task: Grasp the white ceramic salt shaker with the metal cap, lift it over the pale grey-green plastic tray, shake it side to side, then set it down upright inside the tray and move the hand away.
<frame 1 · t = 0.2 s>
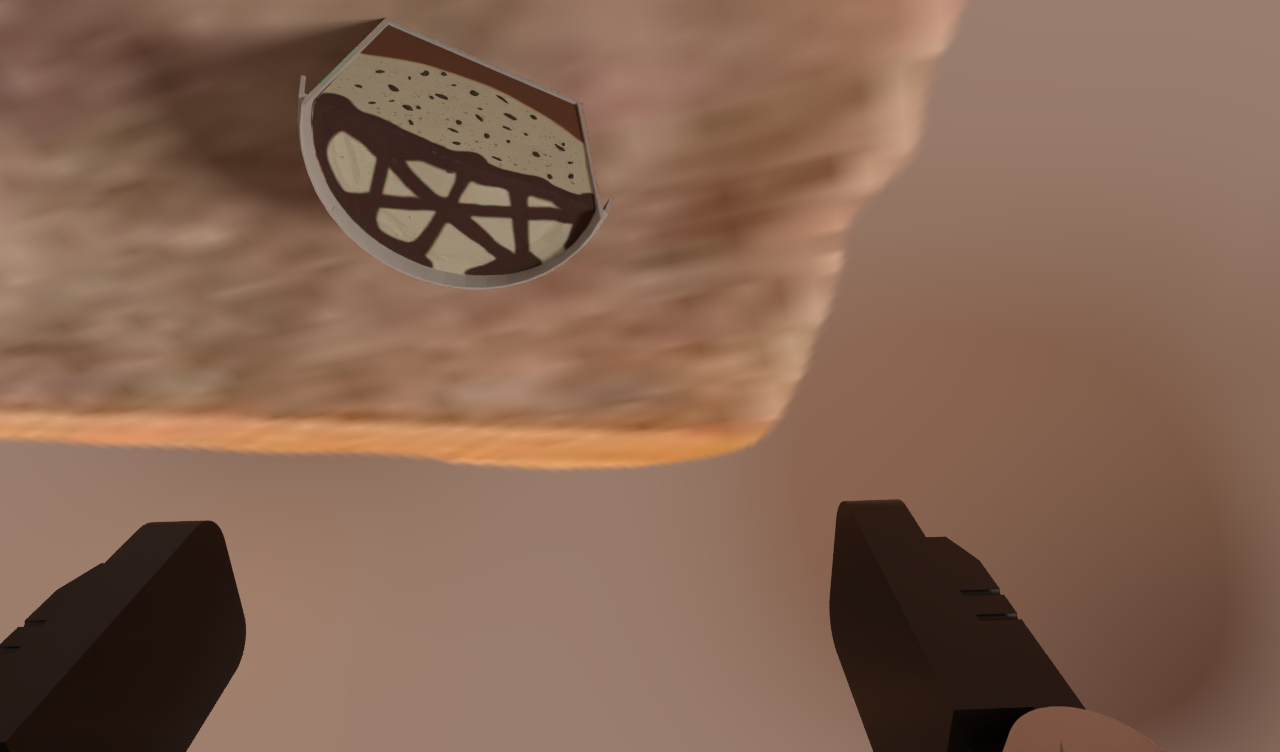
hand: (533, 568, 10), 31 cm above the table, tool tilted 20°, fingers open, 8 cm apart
food container: (467, 118, 38), on the table
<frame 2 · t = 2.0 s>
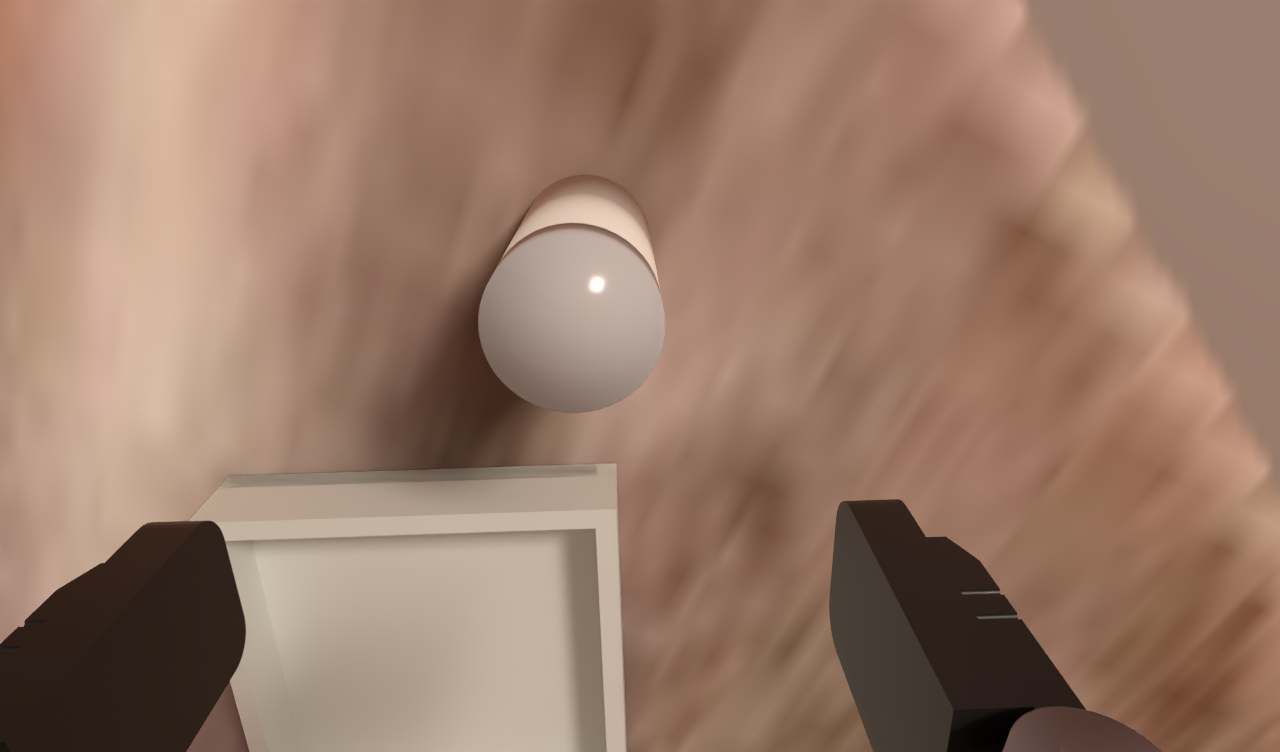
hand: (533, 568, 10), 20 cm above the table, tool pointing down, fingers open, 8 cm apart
salt shaker: (586, 239, 29), on the table
tray: (448, 643, 35), on the table
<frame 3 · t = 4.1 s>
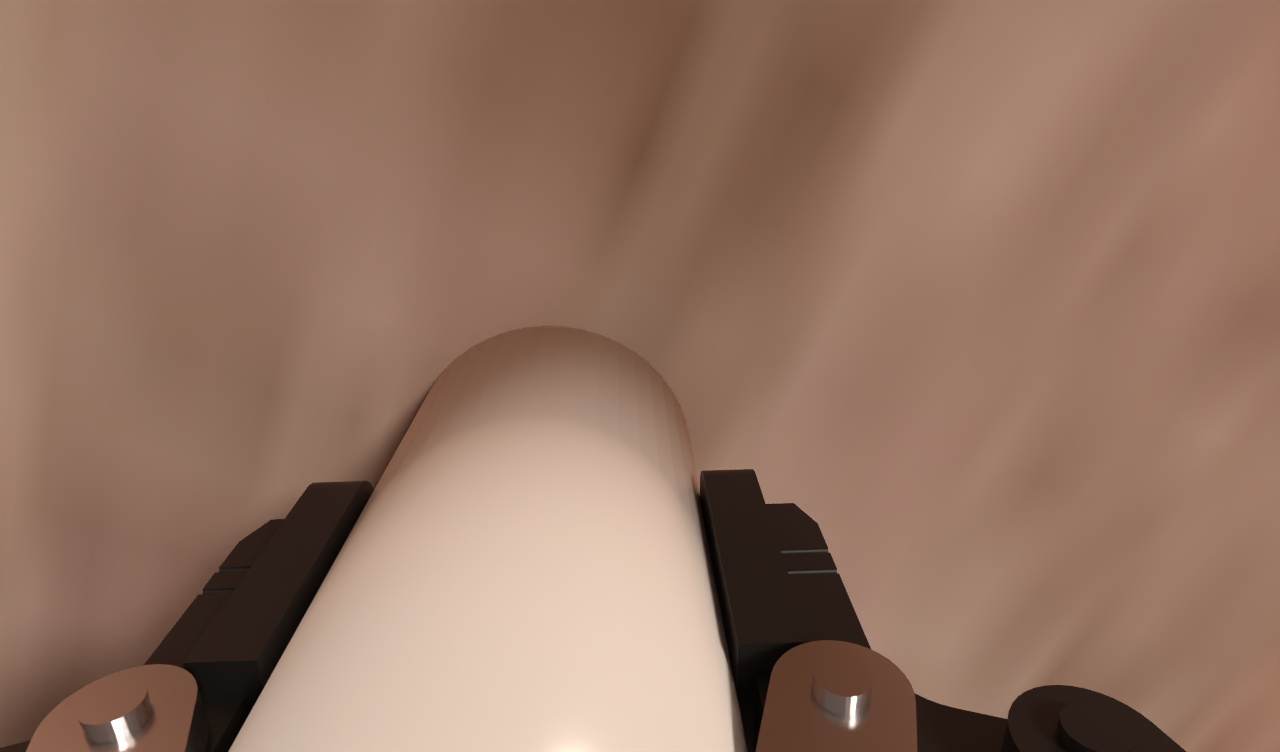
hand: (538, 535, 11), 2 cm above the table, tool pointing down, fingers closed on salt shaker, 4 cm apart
salt shaker: (553, 456, 13), on the table, touching gripper
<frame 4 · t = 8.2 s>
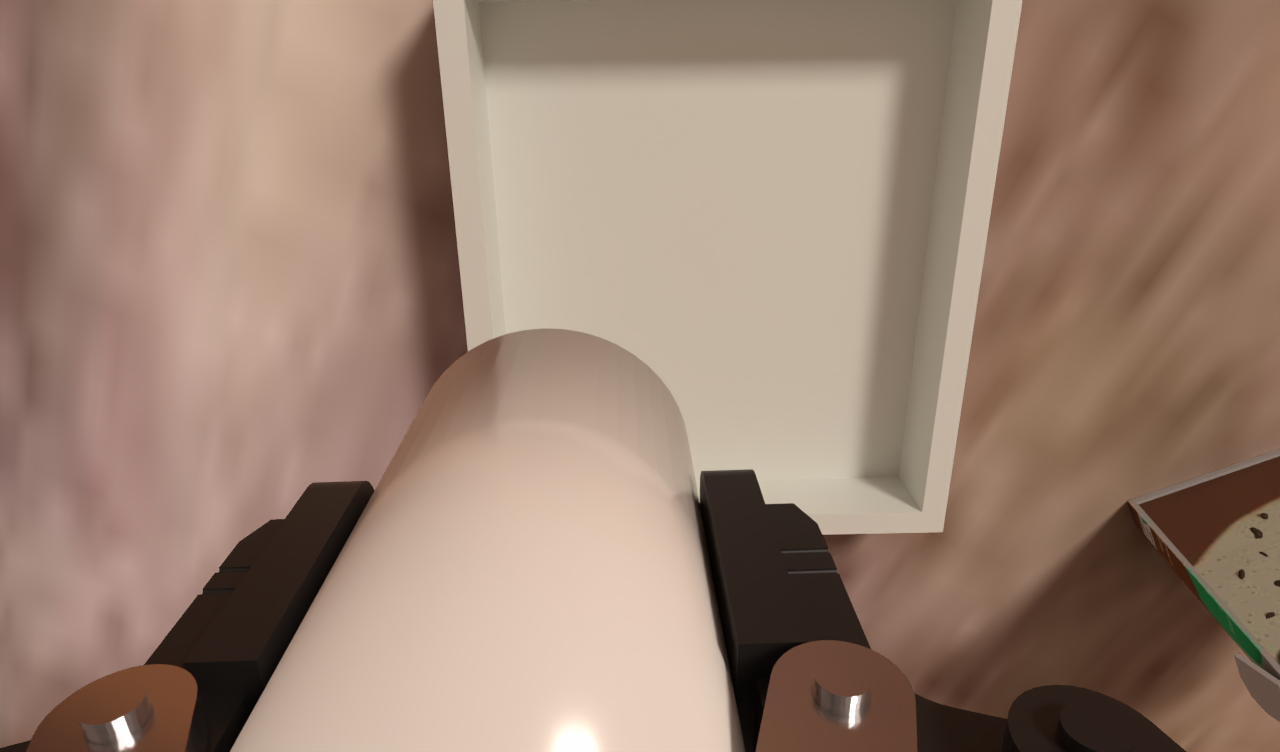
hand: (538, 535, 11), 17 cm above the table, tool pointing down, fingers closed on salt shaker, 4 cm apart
food container: (1254, 519, 32), on the table
salt shaker: (552, 457, 13), point 15 cm above the table, touching gripper
tray: (710, 259, 27), on the table
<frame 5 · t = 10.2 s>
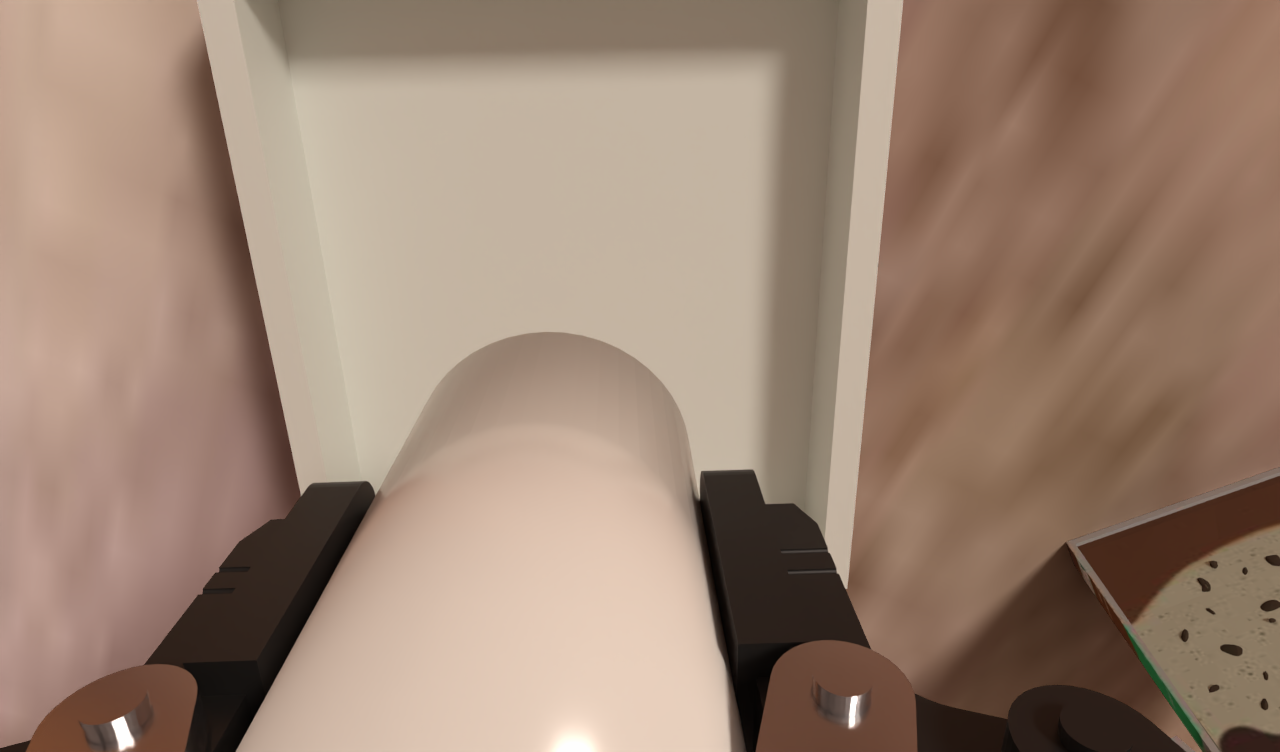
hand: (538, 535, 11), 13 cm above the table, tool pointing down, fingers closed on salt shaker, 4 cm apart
food container: (1208, 560, 28), on the table
salt shaker: (553, 461, 13), point 11 cm above the table, touching gripper
tray: (577, 280, 24), on the table
when the fingers open (5 cm above the table, at t = 12.1 s): salt shaker drops 1 cm, resting on tray.
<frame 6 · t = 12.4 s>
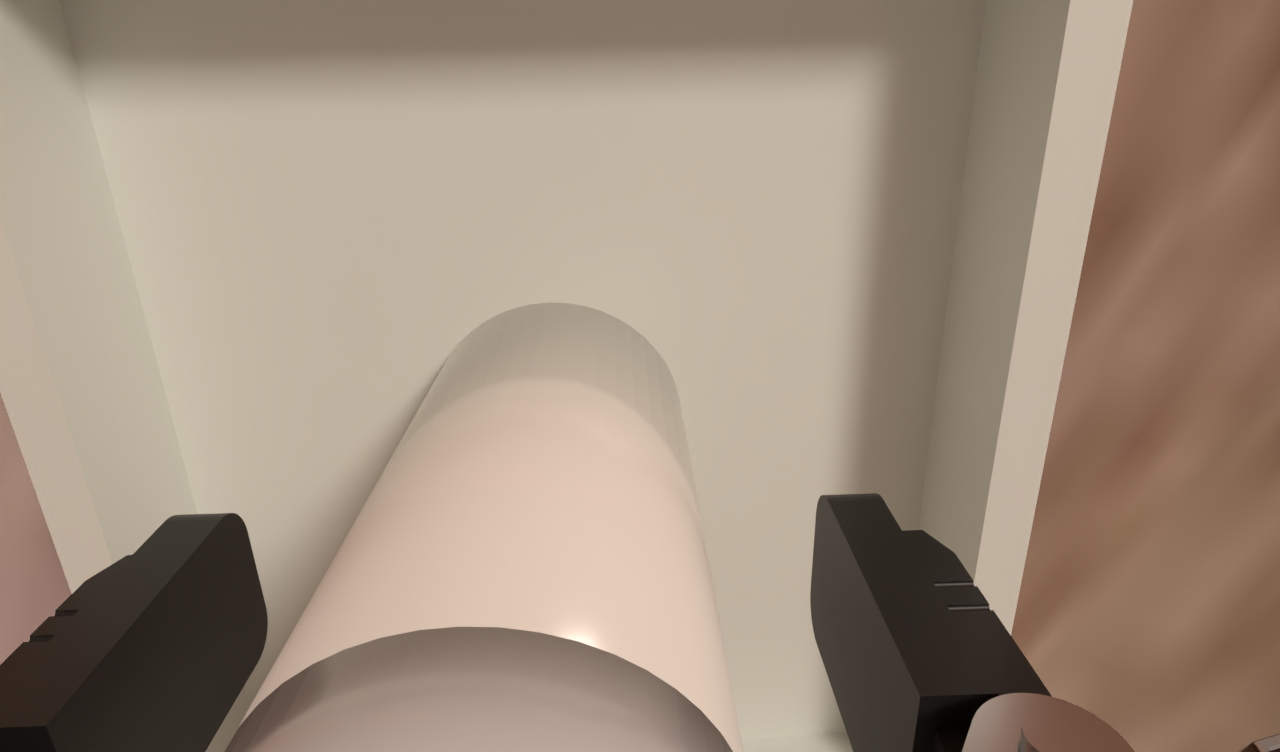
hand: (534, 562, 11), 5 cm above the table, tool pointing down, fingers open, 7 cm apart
salt shaker: (557, 422, 15), point 1 cm above the table, touching tray
tray: (561, 397, 16), on the table
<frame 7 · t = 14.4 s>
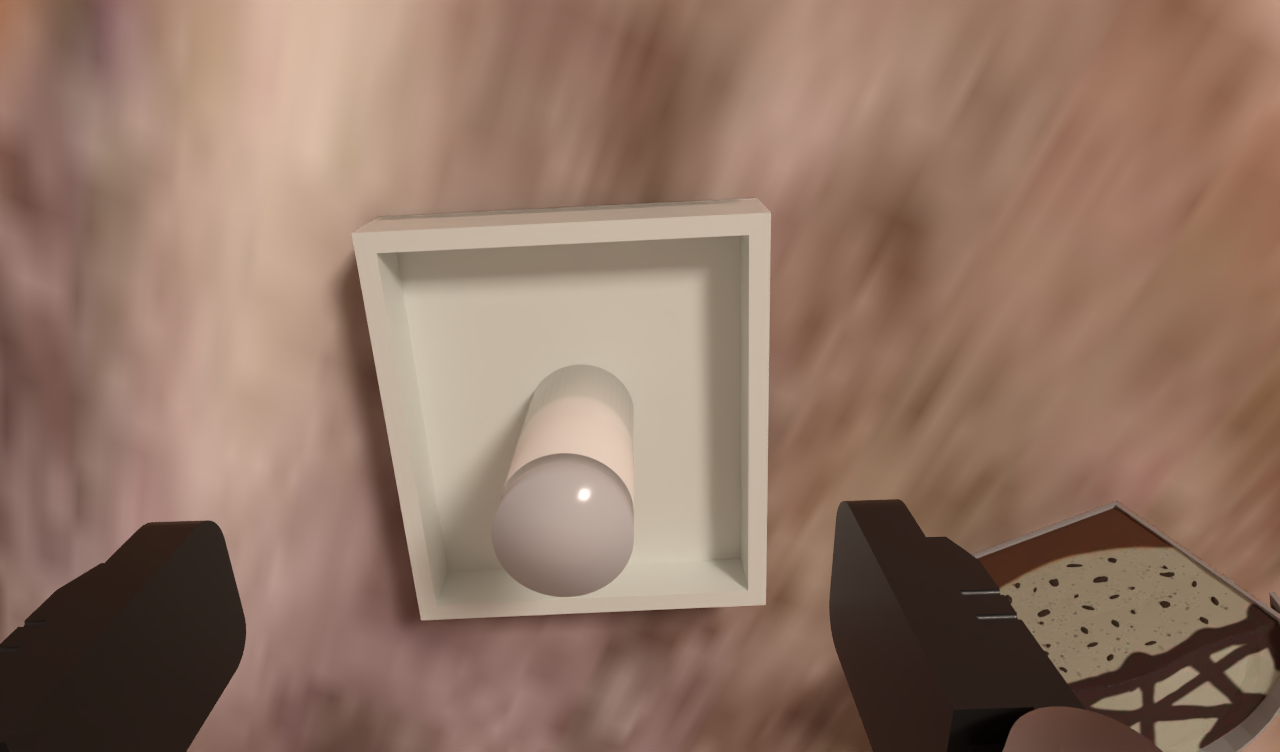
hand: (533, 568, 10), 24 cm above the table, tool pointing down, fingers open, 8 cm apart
food container: (1035, 581, 40), on the table
salt shaker: (581, 413, 35), point 1 cm above the table, touching tray
tray: (583, 403, 36), on the table
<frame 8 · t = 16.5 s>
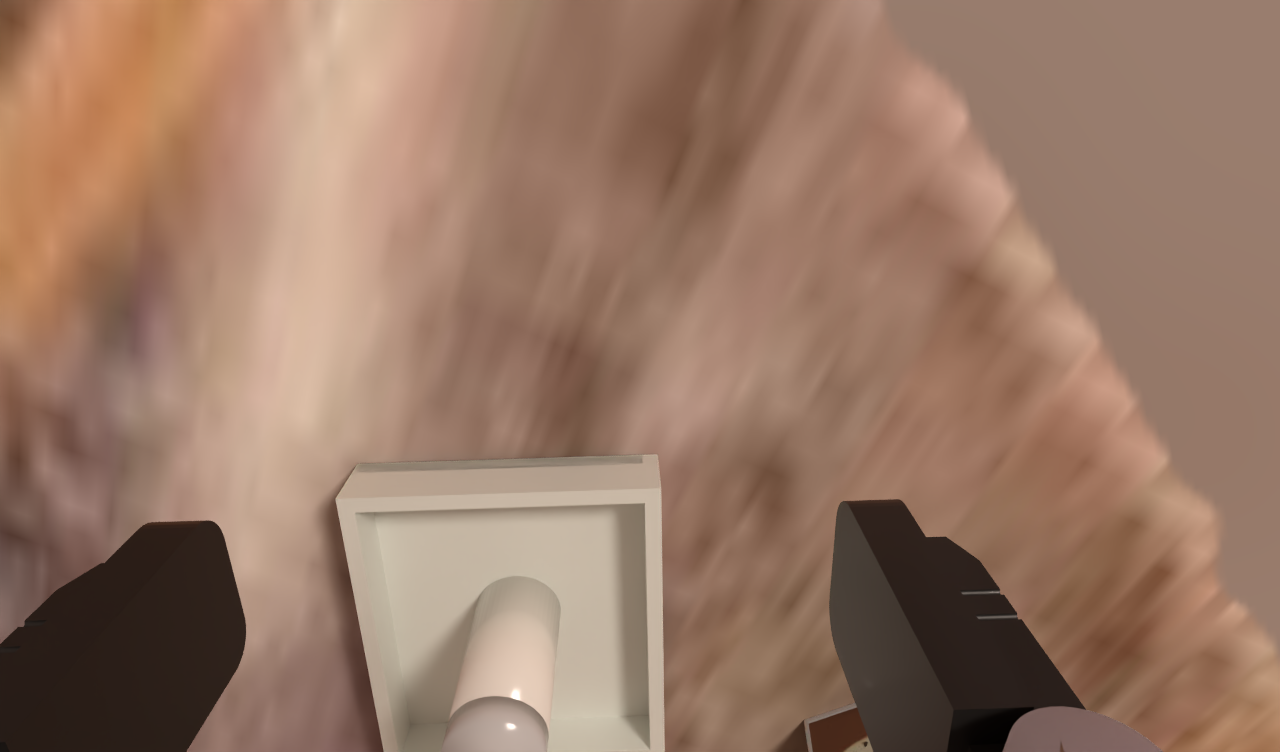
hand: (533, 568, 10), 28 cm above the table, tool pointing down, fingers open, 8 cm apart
food container: (889, 727, 49), on the table
salt shaker: (519, 610, 44), point 1 cm above the table, touching tray
tray: (521, 597, 45), on the table
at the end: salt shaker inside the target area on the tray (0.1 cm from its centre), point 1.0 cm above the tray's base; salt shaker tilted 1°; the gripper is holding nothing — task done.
